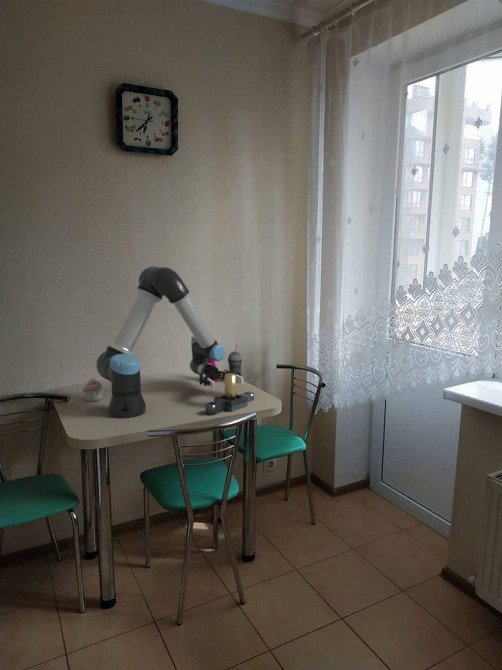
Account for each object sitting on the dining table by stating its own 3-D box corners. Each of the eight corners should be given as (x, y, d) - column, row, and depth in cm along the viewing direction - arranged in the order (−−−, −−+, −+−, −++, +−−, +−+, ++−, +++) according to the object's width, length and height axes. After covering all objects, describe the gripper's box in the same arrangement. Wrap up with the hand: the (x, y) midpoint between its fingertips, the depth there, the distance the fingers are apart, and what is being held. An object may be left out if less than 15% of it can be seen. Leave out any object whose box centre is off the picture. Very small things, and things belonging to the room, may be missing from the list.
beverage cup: (233, 379, 251) (232, 341, 247) (245, 381, 247) (244, 342, 244) (225, 382, 245) (224, 343, 241) (237, 384, 241) (237, 345, 237)
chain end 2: (231, 411, 202) (231, 404, 202) (214, 406, 208) (214, 399, 208) (261, 400, 216) (261, 394, 216) (244, 396, 223) (244, 389, 222)
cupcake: (108, 397, 222) (107, 375, 220) (99, 403, 213) (97, 381, 211) (89, 396, 223) (87, 375, 222) (79, 402, 214) (77, 380, 212)
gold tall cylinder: (231, 408, 206) (230, 376, 203) (222, 406, 209) (222, 374, 206) (239, 406, 209) (238, 374, 207) (230, 403, 213) (230, 372, 210)
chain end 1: (216, 417, 195) (215, 408, 194) (198, 412, 202) (198, 403, 201) (247, 405, 210) (247, 396, 209) (230, 401, 216) (230, 392, 215)
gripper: (232, 376, 235) (253, 387, 216) (183, 383, 223) (201, 395, 204) (232, 360, 233) (253, 370, 215) (183, 367, 221) (201, 378, 203)
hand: (228, 383), depth 210 cm, fingers open, 13 cm apart
